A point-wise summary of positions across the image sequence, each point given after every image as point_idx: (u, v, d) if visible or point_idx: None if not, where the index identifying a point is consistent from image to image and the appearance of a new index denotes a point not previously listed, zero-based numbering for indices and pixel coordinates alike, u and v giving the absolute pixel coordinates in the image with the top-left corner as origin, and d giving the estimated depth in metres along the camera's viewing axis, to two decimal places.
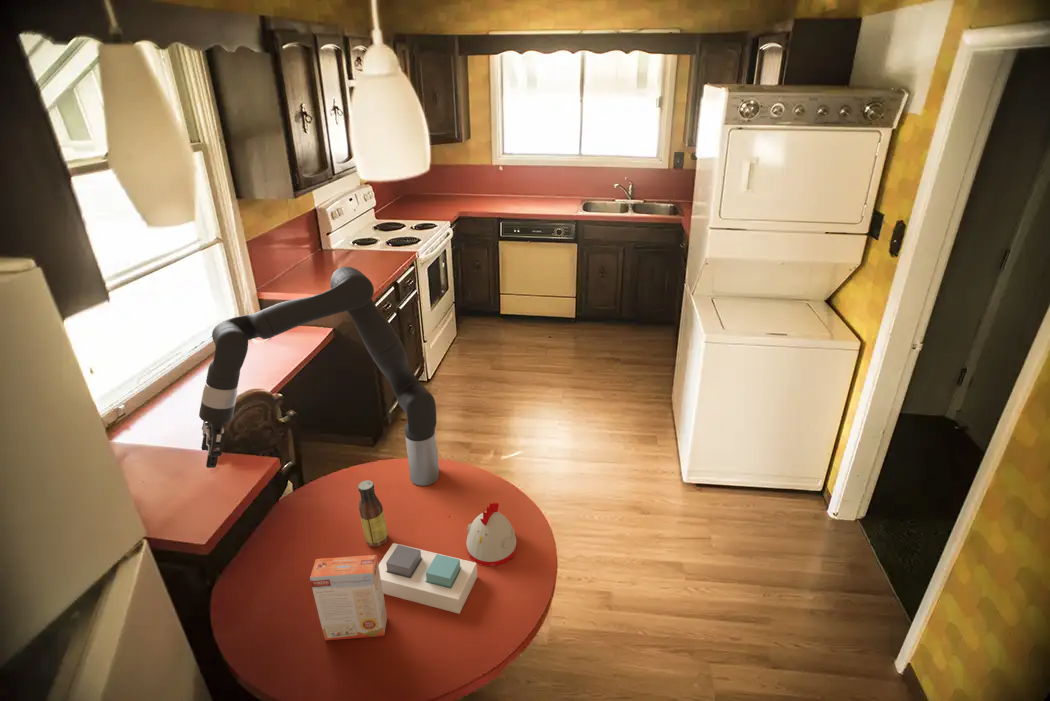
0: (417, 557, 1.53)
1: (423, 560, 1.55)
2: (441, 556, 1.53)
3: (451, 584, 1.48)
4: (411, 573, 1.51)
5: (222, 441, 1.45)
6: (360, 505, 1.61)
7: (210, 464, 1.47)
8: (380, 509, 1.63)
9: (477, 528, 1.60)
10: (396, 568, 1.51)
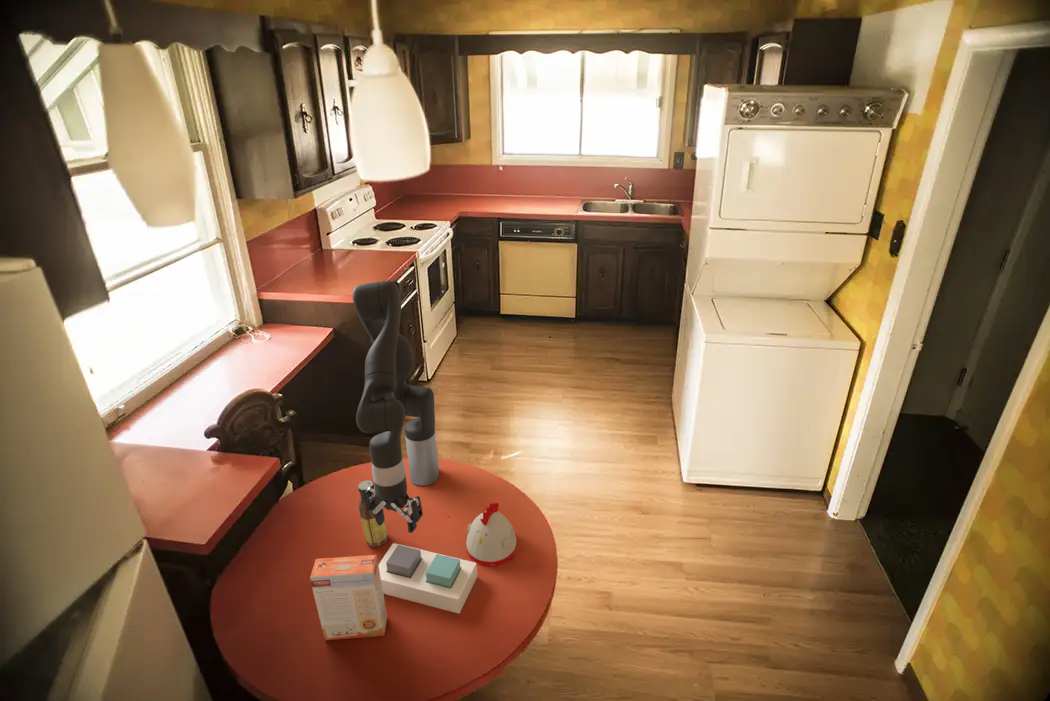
0: (417, 557, 1.53)
1: (423, 560, 1.55)
2: (441, 556, 1.53)
3: (451, 584, 1.48)
4: (411, 573, 1.51)
5: (420, 502, 1.43)
6: (360, 505, 1.61)
7: (414, 528, 1.45)
8: None
9: (476, 528, 1.60)
10: (396, 568, 1.51)
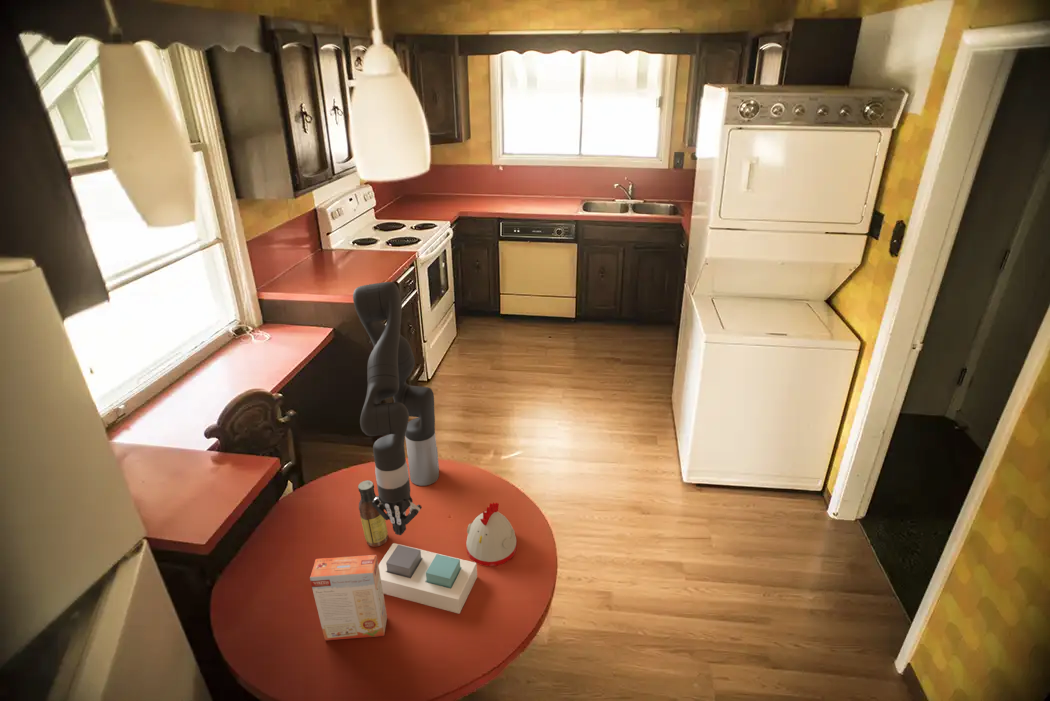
0: (417, 557, 1.53)
1: (423, 560, 1.55)
2: (441, 556, 1.53)
3: (451, 584, 1.48)
4: (411, 573, 1.51)
5: None
6: (360, 505, 1.61)
7: (403, 530, 1.48)
8: None
9: (477, 528, 1.60)
10: (396, 568, 1.51)
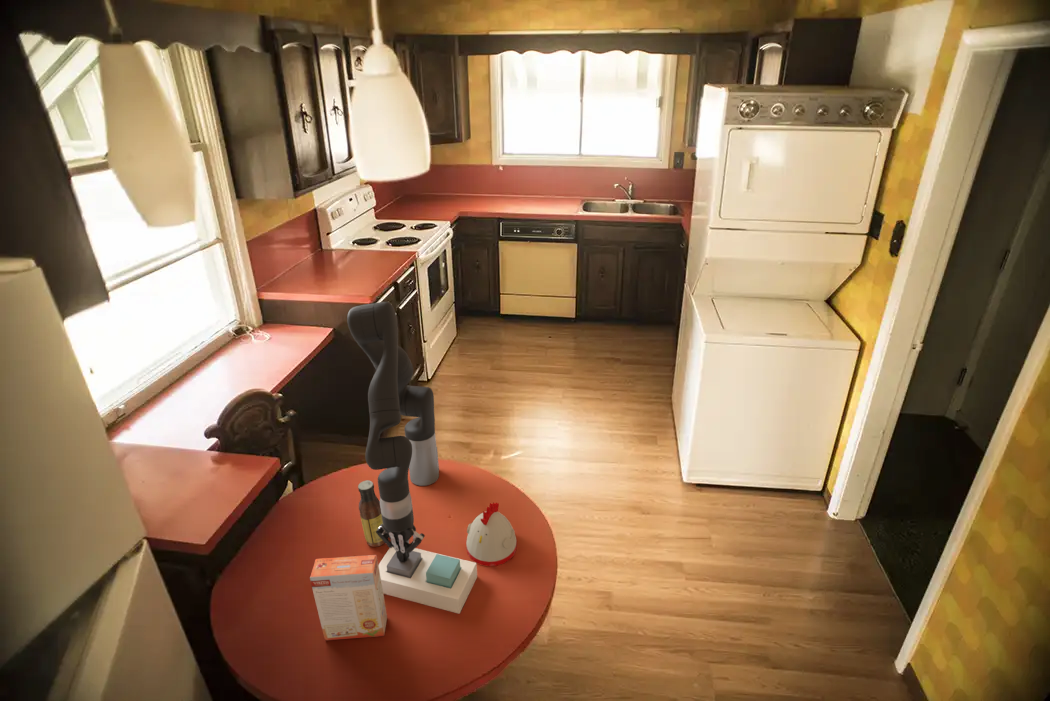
0: (417, 560, 1.54)
1: (423, 560, 1.55)
2: (441, 556, 1.53)
3: (451, 584, 1.48)
4: (411, 576, 1.51)
5: None
6: (360, 505, 1.61)
7: (407, 558, 1.52)
8: (380, 509, 1.63)
9: (477, 528, 1.60)
10: (396, 571, 1.51)
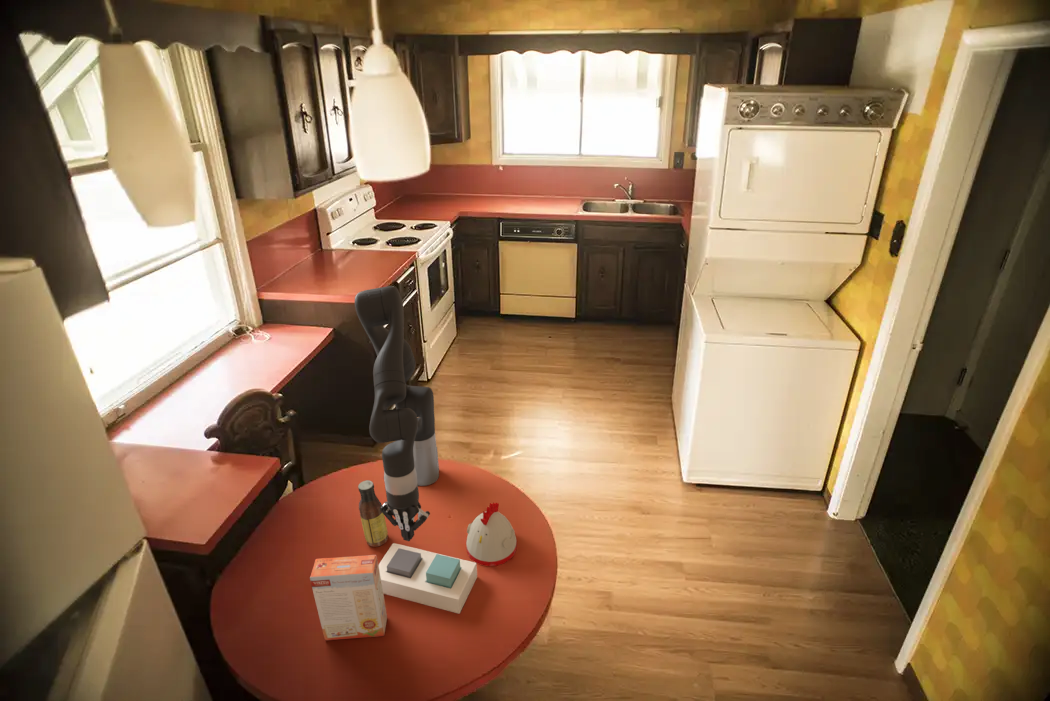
0: (417, 560, 1.54)
1: (423, 560, 1.55)
2: (441, 556, 1.53)
3: (451, 584, 1.48)
4: (411, 576, 1.52)
5: None
6: (360, 505, 1.61)
7: (412, 536, 1.47)
8: None
9: (477, 528, 1.60)
10: (396, 571, 1.51)
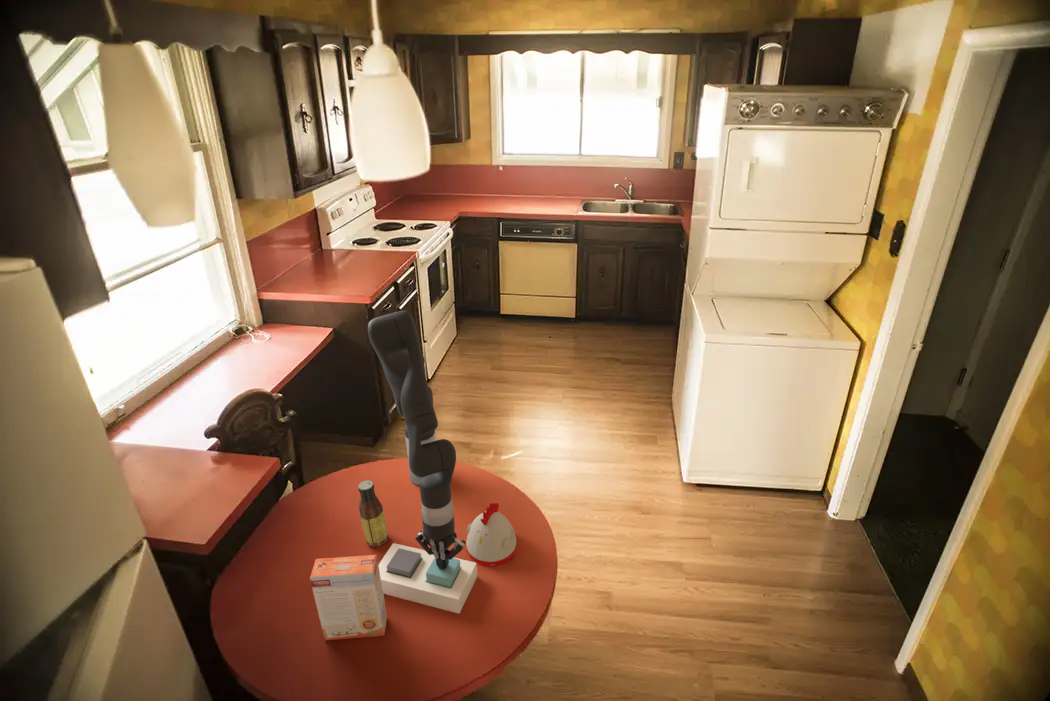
0: (417, 560, 1.54)
1: (423, 560, 1.55)
2: None
3: (451, 584, 1.48)
4: (411, 576, 1.52)
5: None
6: (360, 505, 1.61)
7: (446, 565, 1.48)
8: (380, 509, 1.63)
9: (477, 528, 1.60)
10: (396, 571, 1.51)
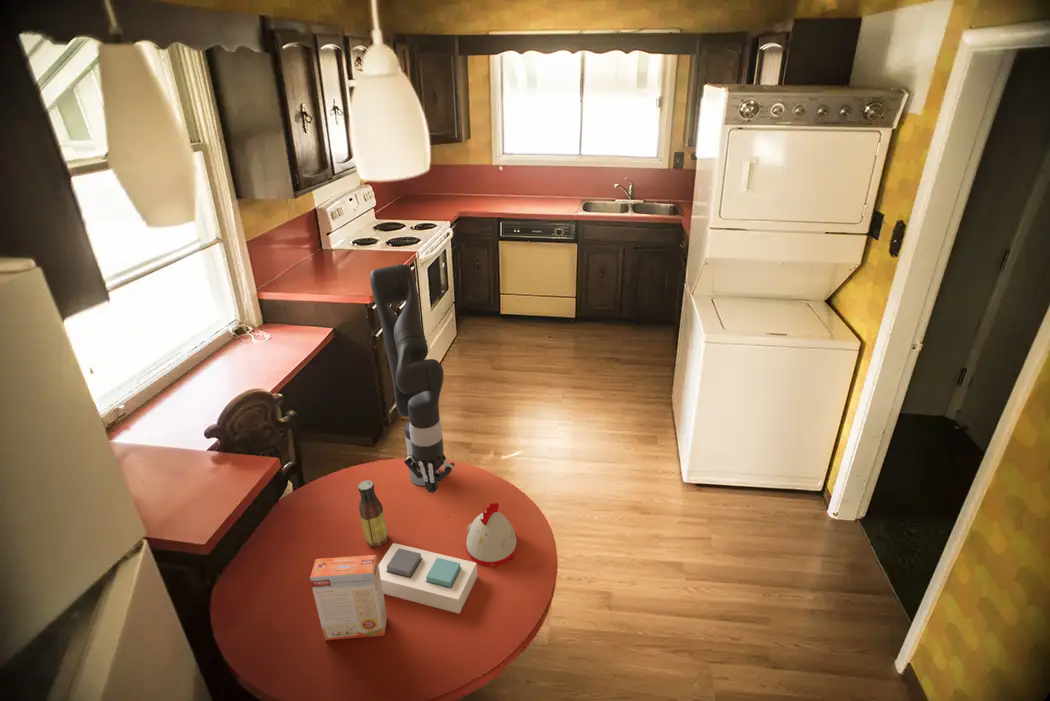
0: (417, 560, 1.54)
1: (423, 560, 1.55)
2: (441, 560, 1.53)
3: None
4: (411, 576, 1.52)
5: None
6: (360, 505, 1.61)
7: (436, 488, 1.49)
8: (380, 509, 1.63)
9: (477, 528, 1.60)
10: (396, 571, 1.51)
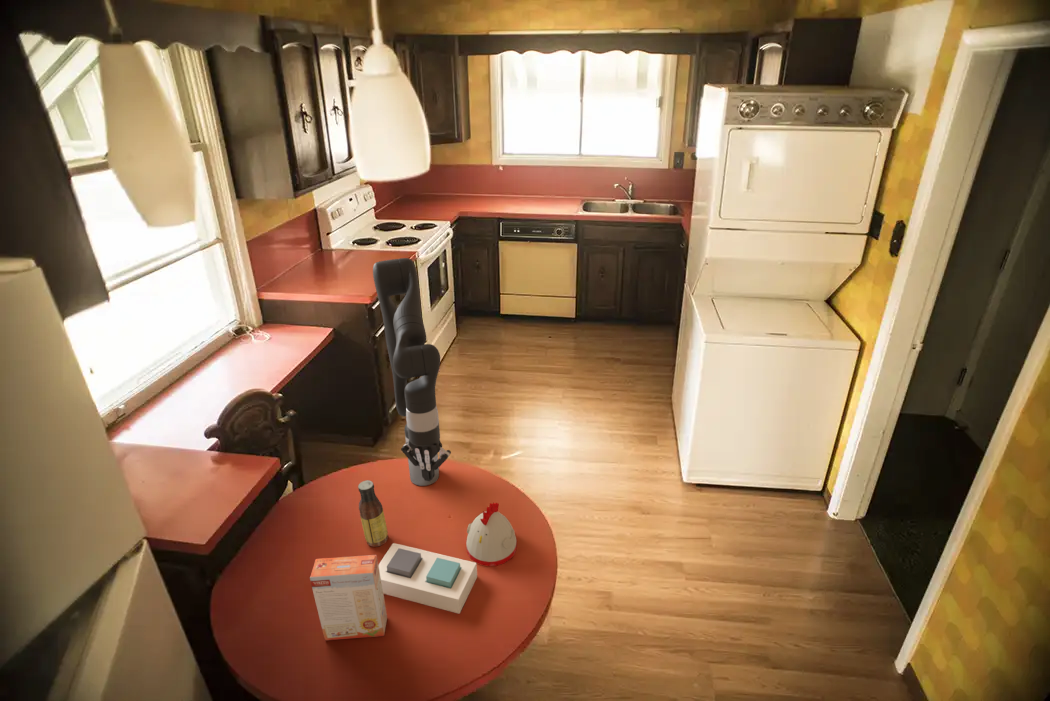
0: (417, 560, 1.54)
1: (423, 560, 1.55)
2: (441, 560, 1.53)
3: None
4: (411, 576, 1.52)
5: None
6: (360, 505, 1.61)
7: (432, 476, 1.49)
8: (380, 509, 1.63)
9: (477, 528, 1.60)
10: (396, 571, 1.51)
